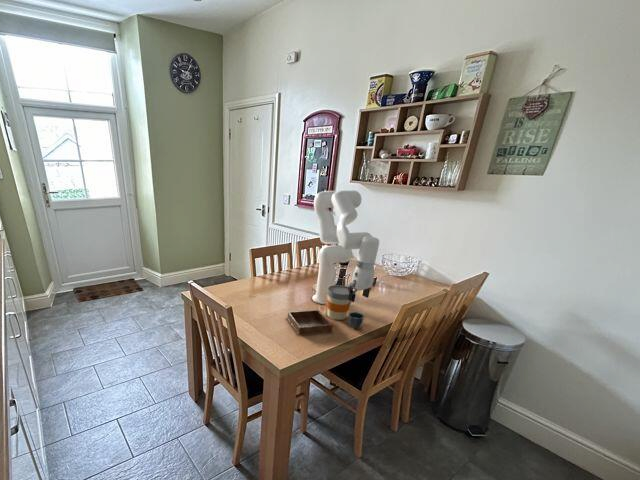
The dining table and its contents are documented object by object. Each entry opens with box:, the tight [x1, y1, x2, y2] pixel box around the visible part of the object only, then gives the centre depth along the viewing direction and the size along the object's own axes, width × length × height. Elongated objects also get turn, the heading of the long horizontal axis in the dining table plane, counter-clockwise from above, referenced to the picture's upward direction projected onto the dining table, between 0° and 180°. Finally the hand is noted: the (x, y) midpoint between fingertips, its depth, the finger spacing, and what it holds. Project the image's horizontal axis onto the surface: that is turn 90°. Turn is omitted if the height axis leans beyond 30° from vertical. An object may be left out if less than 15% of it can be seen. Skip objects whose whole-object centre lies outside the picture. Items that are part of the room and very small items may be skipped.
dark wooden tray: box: [287, 309, 333, 335], centre depth 159 cm, size 16×16×4 cm
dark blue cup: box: [347, 311, 365, 330], centre depth 159 cm, size 7×7×6 cm
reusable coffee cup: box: [326, 284, 352, 321], centre depth 166 cm, size 13×13×15 cm
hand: (358, 298), depth 155 cm, fingers open, 9 cm apart
